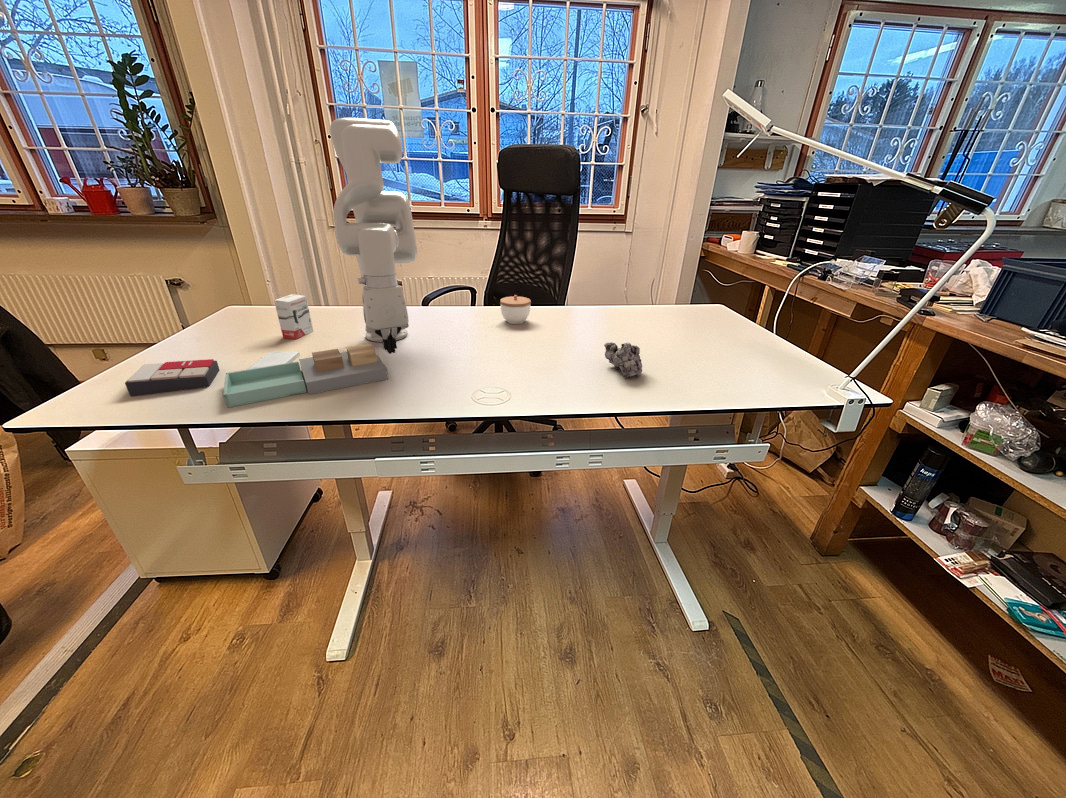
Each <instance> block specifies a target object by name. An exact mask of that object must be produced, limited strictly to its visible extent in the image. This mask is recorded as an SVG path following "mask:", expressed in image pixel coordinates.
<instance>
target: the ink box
mask: <svg viewBox="0 0 1066 798" xmlns="http://www.w3.org/2000/svg"><path fill="white" fill-rule="evenodd" d="M274 306H275V311H276V313H277V317H278V318H277V319H278V323H279V327H280V330H281V334H282V338H283V339H290V340H291V339H292V340H297V339H301V338H302V337H304V336H306V335H308V334H310V333H312V332H314V327H313V323H312V318H311V314H310V312H311V311H310V309H309V304H308V297H307V296H306V295H302V294H301V295H300V294H294V293H291V294H288V295H285V296H283V297H279V298H277V299H275V300H274Z"/></svg>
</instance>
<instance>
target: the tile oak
mask: <svg viewBox="0 0 1066 798" xmlns="http://www.w3.org/2000/svg"><path fill="white" fill-rule="evenodd" d="M345 349H346V352H347V354H348V359H349V360H350V362H351V364H352V366H357V365H363V364H368V363H374V362H377V356H378V355H377V356H376V354H377V351H376V349H375V348H374V347H373V345H372V343H365V344H359V345H353V346H347V347H346V348H345Z"/></svg>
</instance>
